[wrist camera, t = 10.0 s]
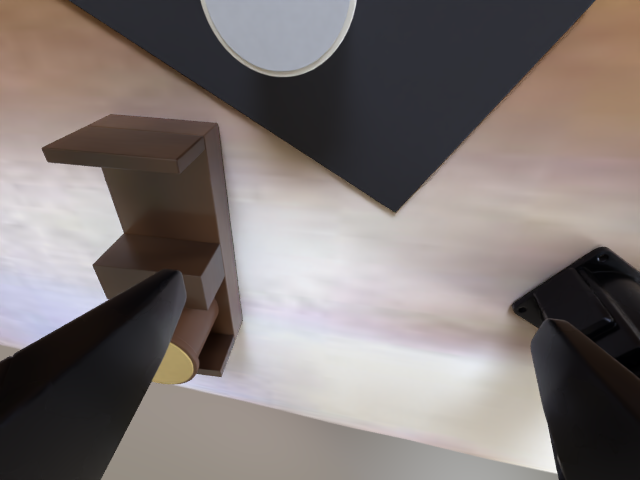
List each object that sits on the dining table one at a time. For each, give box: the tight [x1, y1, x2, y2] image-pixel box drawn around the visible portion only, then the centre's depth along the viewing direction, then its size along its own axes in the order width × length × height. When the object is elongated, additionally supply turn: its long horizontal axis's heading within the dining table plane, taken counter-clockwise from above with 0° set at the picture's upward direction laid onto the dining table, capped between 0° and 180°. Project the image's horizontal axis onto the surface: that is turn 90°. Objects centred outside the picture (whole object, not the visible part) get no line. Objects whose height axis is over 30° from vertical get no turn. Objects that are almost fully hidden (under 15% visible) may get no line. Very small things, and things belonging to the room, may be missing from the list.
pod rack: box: [42, 114, 243, 377], centre depth 21 cm, size 6×16×5 cm, turn 177°
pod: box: [152, 298, 219, 384], centre depth 22 cm, size 5×5×5 cm
